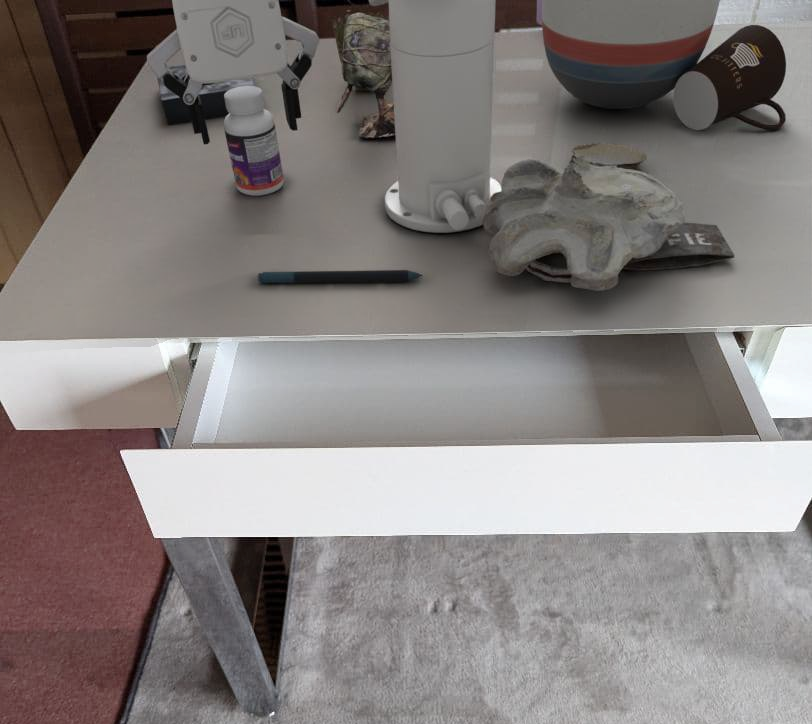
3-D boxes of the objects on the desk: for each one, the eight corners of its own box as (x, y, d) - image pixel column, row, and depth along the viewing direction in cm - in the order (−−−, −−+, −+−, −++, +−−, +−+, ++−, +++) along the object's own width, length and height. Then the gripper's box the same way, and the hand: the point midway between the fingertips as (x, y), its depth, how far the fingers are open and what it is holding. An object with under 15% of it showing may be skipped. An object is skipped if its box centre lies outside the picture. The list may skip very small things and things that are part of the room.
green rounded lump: (397, 77, 110) (393, 10, 104) (391, 98, 105) (387, 28, 99) (343, 78, 111) (337, 12, 105) (335, 99, 106) (328, 30, 100)
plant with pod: (353, 112, 102) (335, -81, 87) (438, 118, 100) (433, -80, 85) (330, 138, 97) (306, -62, 82) (418, 145, 95) (410, -61, 80)
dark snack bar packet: (737, 272, 73) (742, 252, 71) (528, 290, 73) (529, 271, 72) (712, 229, 78) (717, 209, 76) (516, 246, 78) (517, 227, 77)
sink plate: (259, 110, 104) (255, 85, 102) (167, 125, 103) (161, 100, 101) (247, 79, 112) (243, 56, 110) (162, 92, 111) (155, 68, 108)
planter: (625, 148, 91) (660, -86, 75) (501, 101, 102) (508, -112, 86) (734, 97, 99) (787, -125, 83) (607, 59, 110) (633, -144, 94)
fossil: (709, 169, 72) (652, 144, 61) (683, 296, 76) (625, 295, 65) (537, 164, 82) (459, 141, 70) (522, 277, 85) (445, 274, 74)
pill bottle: (230, 182, 91) (210, 89, 83) (275, 171, 92) (259, 79, 85) (245, 201, 87) (225, 107, 80) (291, 189, 89) (275, 95, 81)
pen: (423, 280, 75) (423, 268, 75) (422, 282, 74) (422, 271, 74) (260, 281, 76) (259, 270, 76) (258, 284, 76) (256, 273, 75)
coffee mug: (671, 50, 90) (731, 15, 93) (661, 125, 97) (717, 90, 100) (756, 83, 84) (818, 45, 87) (738, 160, 91) (796, 123, 94)
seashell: (645, 180, 90) (587, 147, 92) (658, 153, 87) (598, 120, 89) (613, 197, 84) (552, 161, 87) (626, 169, 82) (563, 133, 84)
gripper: (117, -43, 69) (170, 159, 82) (313, -67, 71) (335, 133, 84) (115, -63, 74) (165, 131, 87) (299, -84, 76) (321, 107, 89)
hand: (249, 132), depth 85 cm, fingers open, 9 cm apart
